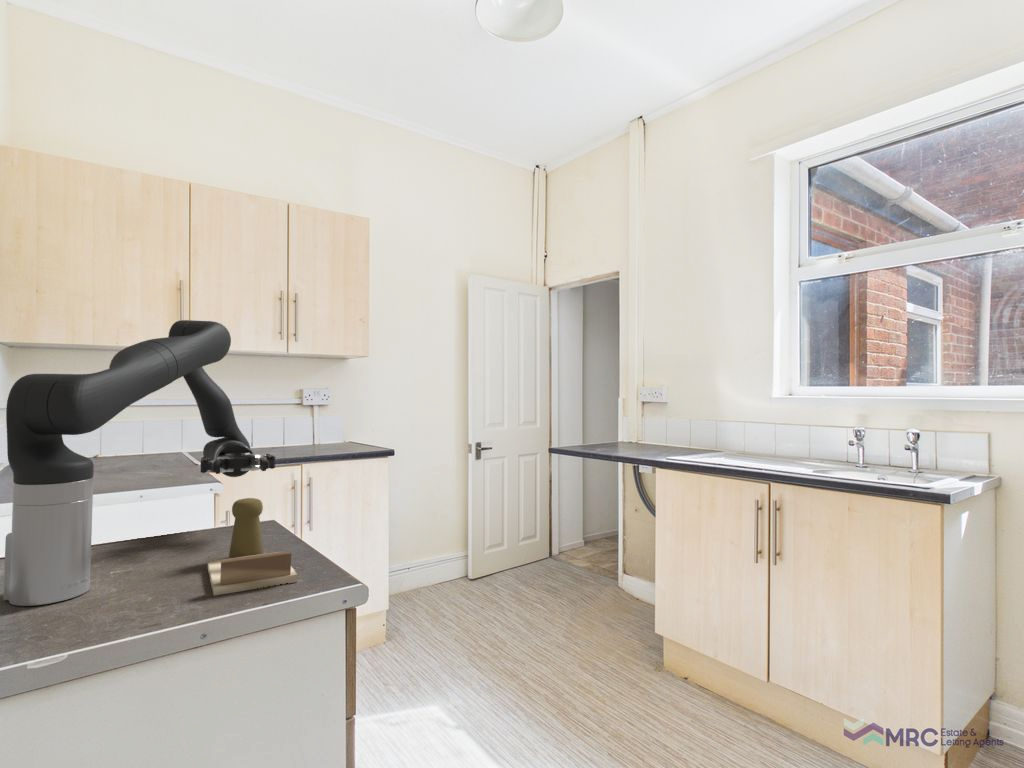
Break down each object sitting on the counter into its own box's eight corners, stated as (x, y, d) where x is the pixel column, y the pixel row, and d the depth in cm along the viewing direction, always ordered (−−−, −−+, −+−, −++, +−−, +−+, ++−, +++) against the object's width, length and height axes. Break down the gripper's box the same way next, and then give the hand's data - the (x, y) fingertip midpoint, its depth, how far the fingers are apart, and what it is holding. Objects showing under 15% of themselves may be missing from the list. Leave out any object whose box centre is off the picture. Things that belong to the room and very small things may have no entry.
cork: (231, 554, 103) (232, 496, 103) (266, 552, 104) (267, 495, 105) (224, 564, 97) (226, 502, 97) (261, 561, 99) (263, 501, 99)
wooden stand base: (207, 568, 94) (208, 541, 95) (281, 558, 101) (281, 532, 101) (213, 595, 82) (214, 564, 82) (297, 582, 88) (297, 553, 88)
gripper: (198, 443, 120) (202, 450, 107) (267, 440, 128) (279, 447, 114) (197, 476, 120) (201, 488, 107) (267, 472, 128) (278, 482, 114)
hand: (241, 467), depth 111 cm, fingers open, 8 cm apart
